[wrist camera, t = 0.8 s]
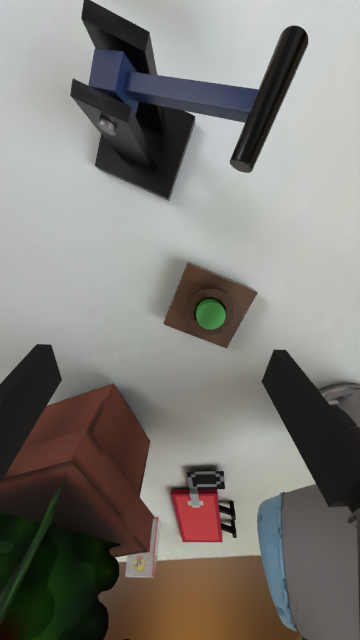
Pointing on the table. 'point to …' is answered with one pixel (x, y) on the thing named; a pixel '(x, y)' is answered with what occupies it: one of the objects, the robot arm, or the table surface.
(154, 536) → the white cardboard box
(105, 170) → the lever bracket
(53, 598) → the potted plant
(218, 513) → the red board with handle
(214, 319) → the green button
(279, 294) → the table surface
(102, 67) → the lever
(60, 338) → the table surface
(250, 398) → the table surface
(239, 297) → the switch block
